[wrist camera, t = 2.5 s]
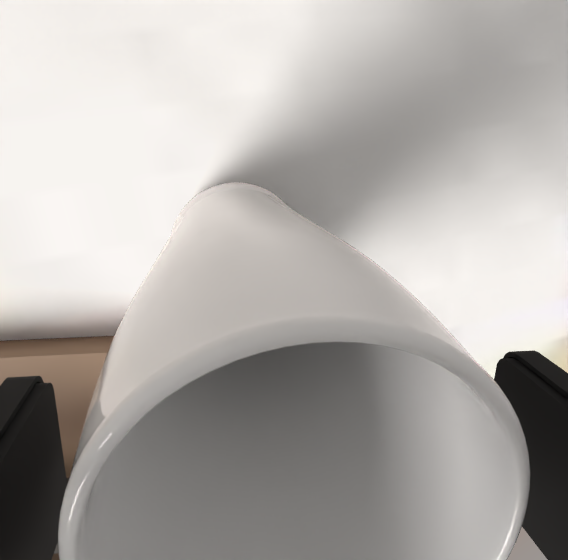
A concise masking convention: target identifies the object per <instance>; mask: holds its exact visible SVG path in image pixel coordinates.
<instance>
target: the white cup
mask: <svg viewBox="0 0 568 560" xmlns="http://www.w3.org/2000/svg"><path fill="white" fill-rule="evenodd" d="M529 490H530V463H529V453H528V448H527V444H526V440H525V435H524V432H523V430H522V427H521V424H520V422H519V419H518V416H517V415H516V413H515V411H514V409H513V407H512V405H511V403H510V401H509V399H508V398H507V397H506V395H505V394H504V392H503V391H502V390H501V388H500V387H499V385H498V384H497V383H496V382H495V380H494V379H493V378H492V377H491V376H490V375H489V374H488V373H487V372H486V371H485V370H484V368H482V367H481V366H480V365H479V364H478V363H477V362H476V361H475V360H474V358H473V357H472V356H471V355H470V354H469V353H468V352H467V351H466V350H465V348H464V347H463V346H462V345H461V344H460V343H459V342H458V341H457V340H456V339H455V338H454V336H453V335H452V334H451V333H450V332H449V331H448V330H447V329H446V328H445V327H444V326H443V325H442V324H441V322H440V321H439V320H438V319H437V318H436V317H435V316H434V315H433V314H432V313H431V312H430V311H429V310H428V309H427V308H426V307H425V306H424V305H423V304H422V303H421V302H420V301H419V300H418V299H417V298H416V297H414V296H413V295H412V294H411V293H410V292H409V291H408V290H407V289H406V288H405V287H403V286H402V285H401V284H400V283H399V282H398V281H397V280H395V279H394V278H393V277H392V276H391V275H390V274H388V273H387V272H386V271H385V270H384V269H383V268H381V267H380V266H379V265H378V264H376V263H375V262H374V261H372V260H371V259H370V258H368V257H367V256H365V255H364V254H363V253H361V252H360V251H358V250H357V249H355V248H354V247H352V246H351V245H349V244H348V243H346V242H345V241H343V240H342V239H340V238H339V237H337V236H335V235H334V234H332V233H330V232H329V231H327V230H325V229H324V228H322V227H320V226H319V225H317V224H315V223H314V222H312V221H310V220H309V219H307V218H306V217H304V216H302V215H301V214H299V213H297V212H296V211H294V210H293V209H291V208H290V207H288V206H287V205H286V204H285V203H284V202H283V201H282V200H281V199H280V198H279V197H278V196H276V195H275V194H273V193H272V192H270V191H268V190H266V189H264V188H262V187H260V186H256V185H253V184H248V183H240V182H233V183H225V184H220V185H216V186H213V187H211V188H208V189H206V190H204V191H202V192H201V193H199V194H198V195H196V196H195V197H194V198H192V199H191V200H190V201H189V202H188V203H187V204H186V205H185V206H184V208H183V209H182V210H181V212H180V213H179V215H178V217H177V219H176V220H175V223H174V225H173V228H172V231H171V235H170V237H169V239H168V240H167V242H166V244H165V246H164V247H163V249H162V251H161V252H160V254H159V256H158V257H157V259H156V261H155V262H154V264H153V266H152V267H151V269H150V271H149V272H148V274H147V276H146V277H145V279H144V281H143V282H142V284H141V285H140V287H139V289H138V290H137V292H136V294H135V296H134V297H133V299H132V301H131V303H130V305H129V307H128V309H127V311H126V313H125V315H124V317H123V318H122V320H121V322H120V324H119V326H118V328H117V331H116V333H115V335H114V337H113V340H112V342H111V344H110V347H109V349H108V352H107V355H106V357H105V360H104V362H103V365H102V368H101V371H100V373H99V376H98V379H97V382H96V385H95V388H94V390H93V393H92V397H91V400H90V403H89V406H88V409H87V413H86V416H85V420H84V423H83V427H82V431H81V434H80V438H79V442H78V446H77V450H76V454H75V458H74V462H73V466H72V470H71V473H70V477H69V480H68V483H67V486H66V489H65V493H64V497H63V501H62V505H61V510H60V517H59V527H58V553H59V560H507V559H508V557H509V555H510V553H511V551H512V549H513V547H514V545H515V543H516V540H517V538H518V535H519V533H520V530H521V527H522V524H523V521H524V517H525V513H526V509H527V504H528V497H529Z"/></svg>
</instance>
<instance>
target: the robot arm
mask: <svg viewBox="0 0 568 560" xmlns="http://www.w3.org/2000/svg"><path fill="white" fill-rule="evenodd" d="M494 380H495V382H496V383H497V384H498V385H499V387H500V388H501V390H502V391H503V392H504V394H505V395H506V397H507V398H508V399H509V401H510V403H511V405H512V407H513V409H514V411H515V413H516V415H517V416H518V419H519V422H520V424H521V427H522V430H523V432H524V435H525V440H526V444H527V448H528V453H529V463H530V490H529V497H528V504H527V509H526V513H525V517H524V521H523V524H522V527H523V528H524V529H525V531H526V532H527V533H528V535H529V536H530V537H531V538H532V540H533V541H534V542H535V544H536V545H537V546H538V547H539V549H540V550H541V551H542V553H543V554H544V555H545V557H546V558H547V559H548V560H568V373H567V372H565V371H564V370H562V369H561V368H560V367H558V366H557V365H555V364H554V363H553V362H551V361H550V360H548V359H547V358H546V357H544V356H543V355H541V354H540V353H539V352H536V351H516V352H508V353H506V355H505V356H504V358H503V359H500V360H499V362H498V364H497V367H496V373H495V378H494ZM66 486H67V479H66V472H65V464H64V457H63V450H62V443H61V436H60V429H59V422H58V414H57V407H56V400H55V393H54V388H53V385H52V383H44V382H43V379H42V377H40V376H24V377H7V378H6V379H5V380H4V381H3V383H2V384H1V385H0V560H52V557H53V554H54V551H55V548H56V545H57V543H58V527H59V517H60V510H61V505H62V501H63V497H64V493H65V489H66Z"/></svg>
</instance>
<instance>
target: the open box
mask: <svg viewBox="0 0 568 560" xmlns="http://www.w3.org/2000/svg"><path fill="white" fill-rule="evenodd" d="M113 337H114V336H101V337H78V338H56V339H34V340H12V341H0V385H1V384H2V383H3V381H4V380H5V379H6V378H7V377H24V376H40V377H42V379H43V382H44V383H52V385H53V388H54V393H55V400H56V407H57V414H58V422H59V429H60V436H61V443H62V450H63V457H64V464H65V472H66V479H67V483H68V480H69V477H70V473H71V470H72V466H73V462H74V458H75V454H76V450H77V446H78V442H79V438H80V434H81V431H82V427H83V423H84V420H85V416H86V413H87V409H88V406H89V403H90V400H91V397H92V393H93V390H94V388H95V385H96V382H97V379H98V376H99V373H100V371H101V368H102V365H103V362H104V360H105V357H106V355H107V352H108V349H109V347H110V344H111V342H112V340H113ZM52 560H59V553H58V543H57V545H56V548H55V551H54V554H53V557H52Z"/></svg>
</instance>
